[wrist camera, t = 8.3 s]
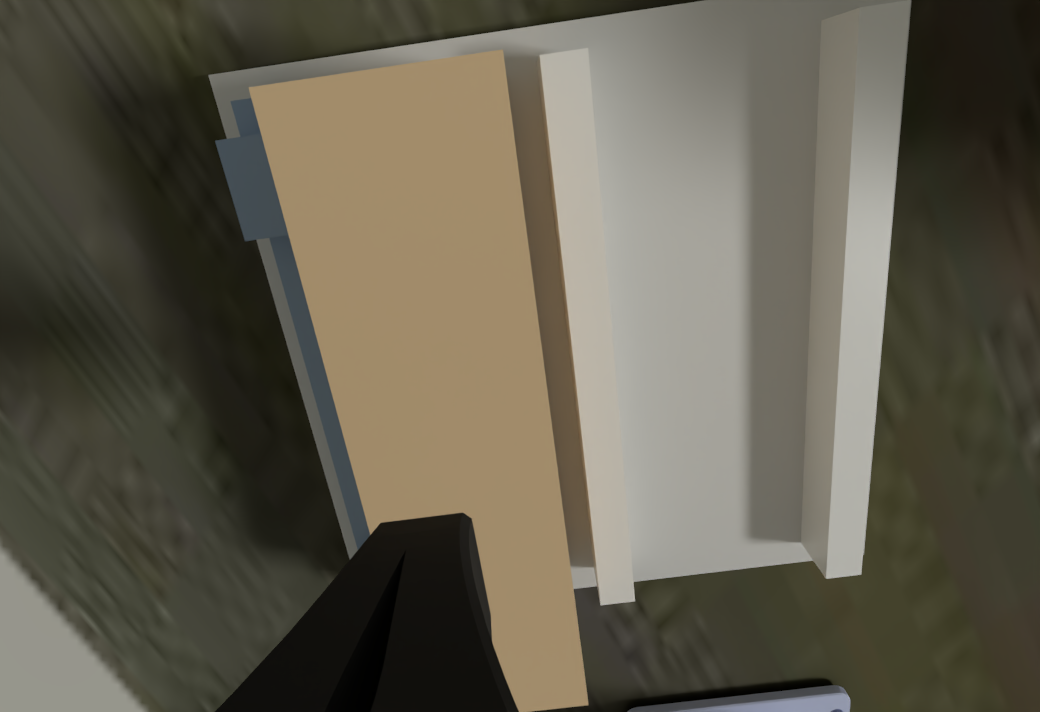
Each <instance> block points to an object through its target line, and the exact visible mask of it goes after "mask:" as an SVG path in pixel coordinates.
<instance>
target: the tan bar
mask: <svg viewBox="0 0 1040 712" xmlns="http://www.w3.org/2000/svg"><path fill="white" fill-rule="evenodd" d="M248 88H249V91H250V95H251V99H252V102H253V106H254V110H255V113H256V117H257V121H258V124H259V128H260V132H261V135H262V139H263V143H264V146H265V150H266V154H267V157H268V161H269V165H270V168H271V172H272V176H273V180H274V183H275V187H276V191H277V194H278V198H279V202H280V205H281V209H282V213H283V216H284V220H285V224H286V227H287V231H288V235H289V238H290V242H291V246H292V249H293V253H294V257H295V260H296V264H297V268H298V271H299V275H300V279H301V282H302V286H303V290H304V293H305V297H306V301H307V304H308V308H309V312H310V315H311V319H312V323H313V326H314V330H315V334H316V337H317V341H318V345H319V348H320V352H321V356H322V359H323V363H324V367H325V370H326V374H327V378H328V381H329V385H330V389H331V392H332V396H333V400H334V403H335V407H336V411H337V415H338V418H339V422H340V426H341V429H342V433H343V437H344V440H345V444H346V448H347V451H348V455H349V459H350V462H351V466H352V470H353V473H354V477H355V481H356V484H357V488H358V492H359V495H360V499H361V503H362V506H363V510H364V514H365V517H366V521H367V525H368V528H369V532H370V535H371V534H372V532H373V531H374V530H375V529H376V528H377V527H378V525H379V524H380V523H383V522H391V521H399V520H407V519H415V518H423V517H431V516H439V515H447V514H455V513H465V514H466V515H467V516H469V517H470V518H472V522H473V527H474V532H475V537H476V542H477V547H478V552H479V557H480V562H481V568H482V573H483V578H484V583H485V588H486V593H487V598H488V603H489V608H490V613H491V630H492V643H493V646H494V649H495V652H496V654H497V657H498V660H499V663H500V665H501V668H502V671H503V674H504V676H505V679H506V681H507V684H508V686H509V689H510V691H511V694H512V696H513V699H514V701H515V704H516V706H517V708H518V711H519V712H532V711H541V710H550V709H558V708H567V707H576V706H585V705H588V697H587V689H586V682H585V674H584V666H583V659H582V651H581V643H580V636H579V628H578V620H577V613H576V605H575V597H574V590H573V582H572V574H571V567H570V559H569V551H568V544H567V536H566V529H565V521H564V513H563V506H562V498H561V490H560V483H559V475H558V467H557V460H556V452H555V444H554V437H553V429H552V421H551V414H550V406H549V398H548V391H547V383H546V375H545V368H544V360H543V352H542V345H541V337H540V329H539V322H538V314H537V306H536V299H535V291H534V284H533V276H532V268H531V261H530V253H529V245H528V238H527V230H526V222H525V215H524V207H523V199H522V192H521V184H520V176H519V169H518V161H517V153H516V146H515V138H514V130H513V123H512V115H511V107H510V100H509V92H508V84H507V77H506V69H505V61H504V54H503V49H502V50H496V51H489V52H482V53H476V54H469V55H462V56H455V57H449V58H442V59H435V60H429V61H422V62H415V63H409V64H402V65H395V66H389V67H382V68H375V69H369V70H362V71H355V72H349V73H342V74H335V75H329V76H322V77H315V78H309V79H302V80H295V81H289V82H282V83H275V84H268V85H262V86H255V87H248Z"/></svg>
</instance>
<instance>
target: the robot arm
mask: <svg viewBox="0 0 1040 712" xmlns="http://www.w3.org/2000/svg"><path fill="white" fill-rule="evenodd" d="M215 712H519V711H518V708H517V706H516V704H515V701H514V699H513V696H512V694H511V691H510V689H509V686H508V684H507V681H506V679H505V676H504V674H503V671H502V668H501V665H500V663H499V660H498V657H497V654H496V652H495V649H494V646H493V643H492V630H491V613H490V608H489V603H488V598H487V593H486V588H485V583H484V578H483V573H482V568H481V562H480V557H479V552H478V547H477V542H476V537H475V532H474V527H473V522H472V518H470V517H469V516H467V515H466V514H465V513H455V514H447V515H439V516H431V517H423V518H415V519H407V520H399V521H391V522H383V523H380V524H379V525H378V527H377V528H376V529H375V530H374V531H373V532H372V534H371V535H370V536H369V537H368V538H367V540H366V541H365V542H364V543H363V544H362V546H361V547H360V548H359V549H358V551H357V552H356V553H355V554H354V555H353V557H352V558H351V559H350V560H349V562H348V563H347V564H346V565H345V566H344V568H343V569H342V570H341V571H340V573H339V574H338V575H337V576H336V577H335V579H334V580H333V581H332V582H331V583H330V585H329V586H328V587H327V588H326V590H325V591H324V592H323V593H322V594H321V596H320V597H319V598H318V599H317V600H316V601H315V603H314V604H313V605H312V606H311V607H310V608H309V610H308V611H307V612H306V613H305V614H304V616H303V617H302V618H301V619H300V620H299V621H298V623H297V624H296V625H295V626H294V627H293V628H292V630H291V631H290V632H289V633H288V634H287V635H286V636H285V637H284V639H283V640H282V641H281V642H280V643H279V644H278V645H277V646H276V647H275V648H274V649H273V650H272V652H271V653H270V654H269V655H268V656H267V657H266V658H265V659H264V660H263V661H262V662H261V663H260V665H259V666H258V667H257V668H256V669H255V670H254V671H253V672H252V673H251V674H250V675H249V676H248V678H247V679H246V680H245V681H244V682H243V683H242V684H241V685H240V686H239V687H238V688H237V689H236V690H235V692H234V693H233V694H232V695H231V696H230V697H229V698H228V699H227V700H226V701H225V702H224V703H223V704H222V705H221V706H220V707H219V708H218V709H217V710H216V711H215ZM627 712H850V698H849V696H848V694H847V692H846V691H845V690H844V688H843V687H840V686H837V685H830V686H821V687H812V688H803V689H794V690H785V691H776V692H767V693H758V694H749V695H740V696H731V697H722V698H713V699H704V700H695V701H686V702H677V703H668V704H660V705H651V706H642V707H635V708H632V709H630V710H628V711H627Z"/></svg>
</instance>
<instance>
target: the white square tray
mask: <svg viewBox="0 0 1040 712" xmlns="http://www.w3.org/2000/svg"><path fill="white" fill-rule="evenodd" d="M910 11H911V0H704V1H697V2H690V3H684V4H677V5H670V6H664V7H657V8H650V9H644V10H637V11H630V12H624V13H617V14H611V15H604V16H597V17H591V18H584V19H577V20H571V21H564V22H557V23H551V24H544V25H537V26H531V27H524V28H518V29H511V30H504V31H498V32H491V33H484V34H478V35H471V36H464V37H458V38H451V39H445V40H438V41H431V42H425V43H418V44H411V45H405V46H398V47H391V48H385V49H378V50H371V51H365V52H358V53H352V54H345V55H338V56H332V57H325V58H318V59H312V60H305V61H298V62H292V63H285V64H278V65H272V66H265V67H259V68H252V69H245V70H239V71H232V72H225V73H219V74H212V75H208V76H209V80H210V83H211V86H212V90H213V93H214V97H215V100H216V104H217V107H218V110H219V114H220V117H221V121H222V124H223V128H224V131H225V134H226V138H227V139H223V140H216V141H215V143H216V146H217V149H218V153H219V156H220V159H221V163H222V166H223V169H224V173H225V176H226V179H227V183H228V186H229V189H230V193H231V196H232V199H233V203H234V206H235V209H236V213H237V216H238V219H239V223H240V226H241V230H242V233H243V236H244V240H245V241H251V240H257V244H258V247H259V251H260V254H261V258H262V261H263V264H264V268H265V271H266V275H267V278H268V282H269V285H270V288H271V292H272V295H273V299H274V302H275V305H276V309H277V312H278V316H279V319H280V323H281V326H282V329H283V333H284V336H285V340H286V343H287V347H288V350H289V353H290V357H291V360H292V364H293V367H294V371H295V374H296V377H297V381H298V384H299V388H300V391H301V394H302V398H303V401H304V405H305V408H306V412H307V415H308V418H309V422H310V425H311V429H312V432H313V436H314V439H315V442H316V446H317V449H318V453H319V456H320V460H321V463H322V466H323V470H324V473H325V477H326V480H327V483H328V487H329V490H330V494H331V497H332V501H333V504H334V507H335V511H336V514H337V518H338V521H339V525H340V528H341V531H342V535H343V538H344V542H345V545H346V548H347V552H348V555H349V559H351V558H352V557H353V555H354V554H355V553H356V552H357V551H358V549H359V548H360V547H361V546H362V544H363V543H364V542H365V541H366V540H367V538H368V537H369V536H370V532H369V528H368V525H367V521H366V517H365V514H364V510H363V506H362V503H361V499H360V495H359V492H358V488H357V484H356V481H355V477H354V473H353V470H352V466H351V462H350V459H349V455H348V451H347V448H346V444H345V440H344V437H343V433H342V429H341V426H340V422H339V418H338V415H337V411H336V407H335V403H334V400H333V396H332V392H331V389H330V385H329V381H328V378H327V374H326V370H325V367H324V363H323V359H322V356H321V352H320V348H319V345H318V341H317V337H316V334H315V330H314V326H313V323H312V319H311V315H310V312H309V308H308V304H307V301H306V297H305V293H304V290H303V286H302V282H301V279H300V275H299V271H298V268H297V264H296V260H295V257H294V253H293V249H292V246H291V242H290V238H289V235H288V231H287V227H286V224H285V220H284V216H283V213H282V209H281V205H280V202H279V198H278V194H277V191H276V187H275V183H274V180H273V176H272V172H271V168H270V165H269V161H268V157H267V154H266V150H265V146H264V143H263V139H262V135H261V132H260V128H259V124H258V121H257V117H256V113H255V110H254V106H253V102H252V99H251V95H250V91H249V88H248V87H255V86H262V85H268V84H275V83H282V82H289V81H295V80H302V79H309V78H315V77H322V76H329V75H335V74H342V73H349V72H355V71H362V70H369V69H375V68H382V67H389V66H395V65H402V64H409V63H415V62H422V61H429V60H435V59H442V58H449V57H455V56H462V55H469V54H476V53H482V52H489V51H496V50H502V49H503V54H504V61H505V69H506V77H507V84H508V92H509V100H510V107H511V115H512V123H513V130H514V138H515V146H516V153H517V161H518V169H519V176H520V184H521V192H522V199H523V207H524V215H525V222H526V230H527V238H528V245H529V253H530V261H531V268H532V276H533V284H534V291H535V299H536V306H537V314H538V322H539V329H540V337H541V345H542V352H543V360H544V368H545V375H546V383H547V391H548V398H549V406H550V414H551V421H552V429H553V437H554V444H555V452H556V460H557V467H558V475H559V483H560V490H561V498H562V506H563V513H564V521H565V529H566V536H567V544H568V551H569V559H570V567H571V574H572V582H573V589H577V588H585V587H594V586H597V588H598V594H599V599H600V604H601V605H607V604H616V603H624V602H633V601H635V595H634V583H633V582H636V581H644V580H653V579H661V578H670V577H678V576H686V575H695V574H703V573H712V572H720V571H728V570H737V569H745V568H754V567H762V566H771V565H779V564H787V563H796V562H804V561H814V562H815V564H816V565H817V567H818V568H819V569H820V571H821V572H822V574H823V575H824V577H825V578H826V579H828V578H837V577H845V576H854V575H861V571H862V559H863V554H864V547H865V535H866V524H867V512H868V500H869V489H870V477H871V465H872V454H873V442H874V430H875V419H876V407H877V396H878V384H879V372H880V361H881V349H882V337H883V326H884V314H885V302H886V291H887V279H888V267H889V256H890V244H891V233H892V221H893V209H894V198H895V186H896V174H897V163H898V151H899V139H900V128H901V116H902V105H903V93H904V81H905V70H906V58H907V46H908V35H909V23H910Z"/></svg>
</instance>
